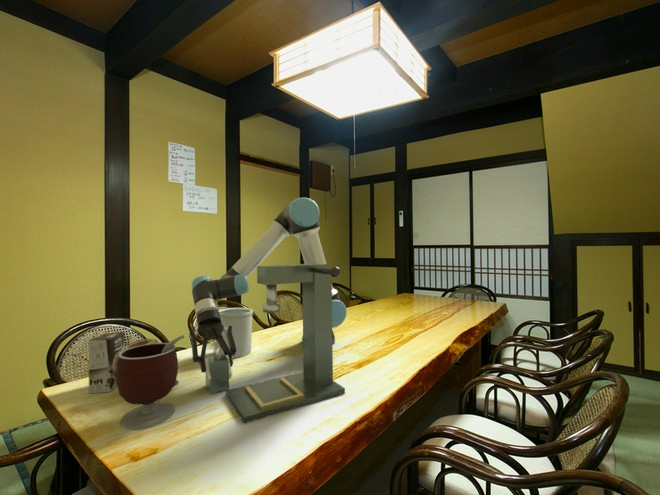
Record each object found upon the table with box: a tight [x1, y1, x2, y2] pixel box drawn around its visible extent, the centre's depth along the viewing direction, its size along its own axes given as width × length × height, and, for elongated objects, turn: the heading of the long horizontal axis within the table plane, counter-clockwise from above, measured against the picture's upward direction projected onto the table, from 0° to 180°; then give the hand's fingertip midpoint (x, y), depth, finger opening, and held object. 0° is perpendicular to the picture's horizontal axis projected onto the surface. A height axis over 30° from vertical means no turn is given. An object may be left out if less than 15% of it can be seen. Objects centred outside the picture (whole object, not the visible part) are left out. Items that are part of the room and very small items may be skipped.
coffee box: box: [88, 331, 125, 394], centre depth 101 cm, size 9×6×16 cm
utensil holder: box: [216, 307, 254, 359], centre depth 133 cm, size 15×15×18 cm
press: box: [225, 263, 346, 424], centre depth 91 cm, size 30×26×38 cm
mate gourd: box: [116, 334, 185, 431], centre depth 83 cm, size 16×14×20 cm
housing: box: [205, 347, 230, 394], centre depth 100 cm, size 6×7×12 cm
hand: (219, 378), depth 97 cm, fingers closed on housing, 5 cm apart
